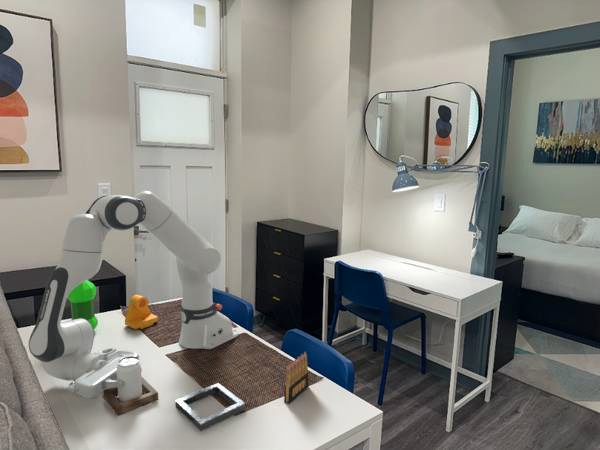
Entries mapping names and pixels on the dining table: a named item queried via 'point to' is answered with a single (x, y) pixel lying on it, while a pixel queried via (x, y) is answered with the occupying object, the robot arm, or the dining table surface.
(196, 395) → the dark grey square frame
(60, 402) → the dining table surface
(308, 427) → the dining table surface
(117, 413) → the wooden square frame
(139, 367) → the can
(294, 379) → the ammunition clip
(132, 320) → the orange figurine
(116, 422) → the dining table surface
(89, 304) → the plastic bottle
